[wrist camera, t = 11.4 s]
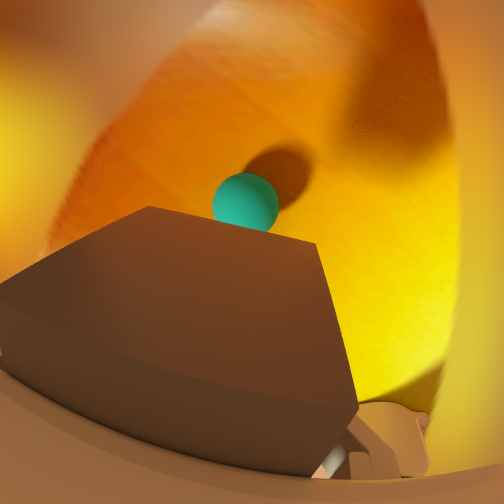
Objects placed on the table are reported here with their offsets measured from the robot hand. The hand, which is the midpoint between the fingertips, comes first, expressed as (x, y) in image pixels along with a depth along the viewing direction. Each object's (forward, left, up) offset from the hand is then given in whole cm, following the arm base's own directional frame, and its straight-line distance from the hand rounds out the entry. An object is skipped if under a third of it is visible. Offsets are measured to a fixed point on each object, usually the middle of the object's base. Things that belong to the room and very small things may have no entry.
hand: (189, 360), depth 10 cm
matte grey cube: (0, 0, -4) cm, 4 cm away
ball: (+2, -1, -15) cm, 15 cm away
